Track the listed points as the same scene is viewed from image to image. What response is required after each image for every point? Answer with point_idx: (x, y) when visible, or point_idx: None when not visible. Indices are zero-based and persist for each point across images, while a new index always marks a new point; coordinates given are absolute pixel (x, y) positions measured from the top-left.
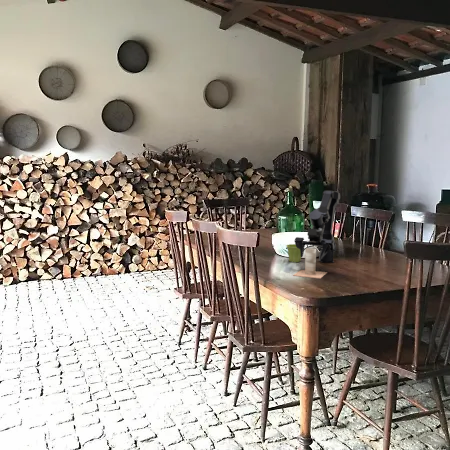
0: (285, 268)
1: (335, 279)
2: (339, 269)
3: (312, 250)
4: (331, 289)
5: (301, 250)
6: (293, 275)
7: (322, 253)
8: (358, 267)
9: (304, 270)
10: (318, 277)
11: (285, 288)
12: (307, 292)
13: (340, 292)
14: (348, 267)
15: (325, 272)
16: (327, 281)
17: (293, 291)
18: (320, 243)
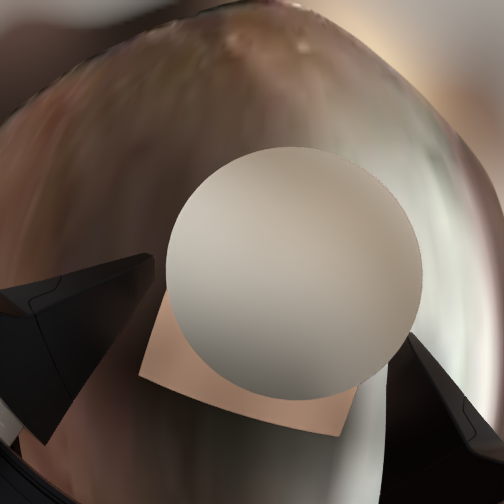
0: None
1: (120, 190)
2: (70, 464)
3: (262, 158)
4: (192, 49)
5: (449, 390)
6: None
7: (90, 270)
8: None
9: (312, 418)
10: None
11: (361, 49)
12: (282, 23)
13: (172, 36)
14: None
15: (148, 367)
16: (176, 139)
17: (327, 29)
18: (21, 500)
